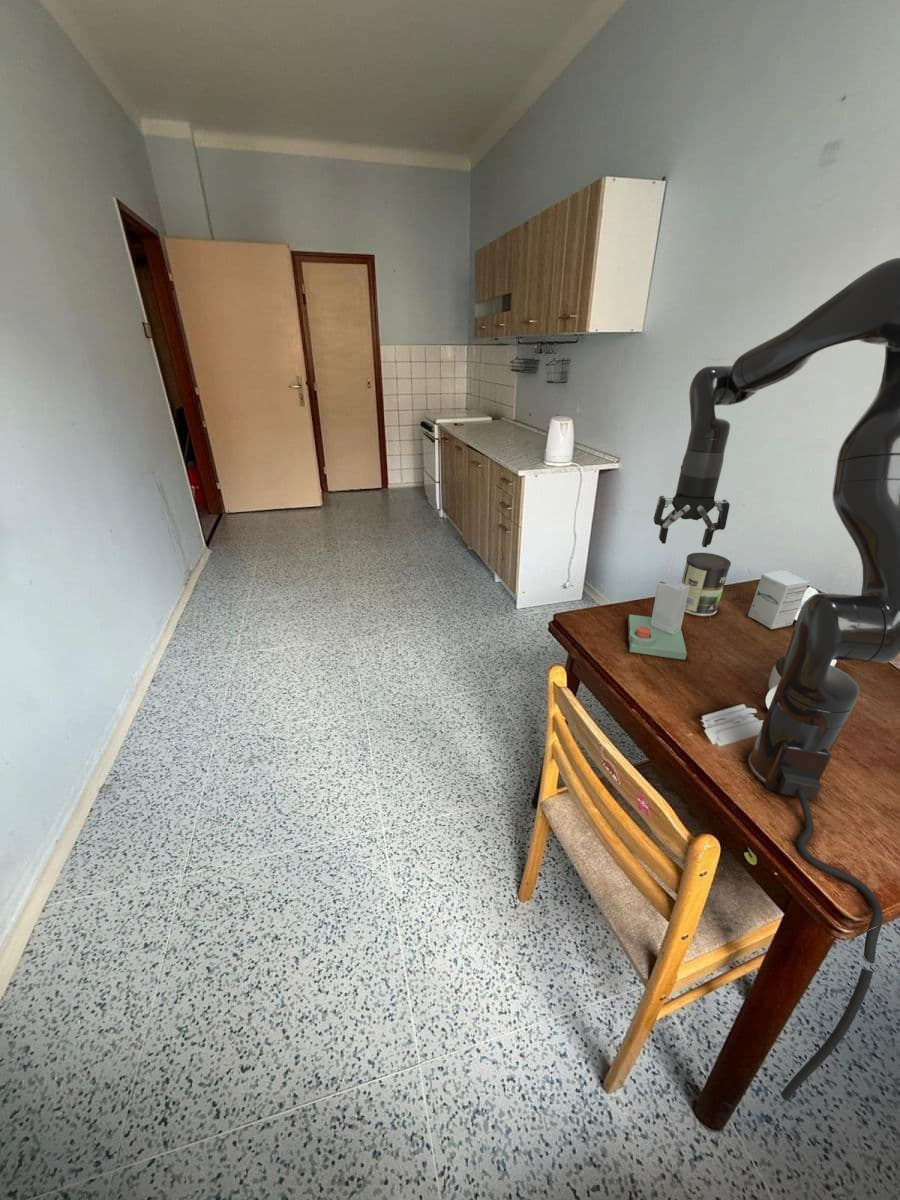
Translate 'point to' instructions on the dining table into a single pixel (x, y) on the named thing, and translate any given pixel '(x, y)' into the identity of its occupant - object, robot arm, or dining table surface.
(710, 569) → the coffee can
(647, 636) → the button
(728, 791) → the dining table surface
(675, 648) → the green kitchen scale
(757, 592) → the white packaging box
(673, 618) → the cosmetic box
